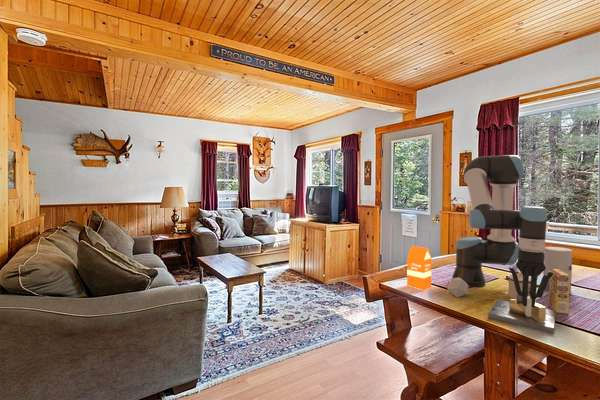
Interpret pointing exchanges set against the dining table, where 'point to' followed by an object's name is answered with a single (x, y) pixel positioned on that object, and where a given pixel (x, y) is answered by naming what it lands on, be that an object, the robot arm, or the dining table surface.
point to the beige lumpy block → (536, 312)
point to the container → (559, 261)
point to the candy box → (559, 291)
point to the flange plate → (521, 316)
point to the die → (458, 287)
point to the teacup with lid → (512, 288)
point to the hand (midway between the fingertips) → (527, 315)
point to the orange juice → (419, 268)
